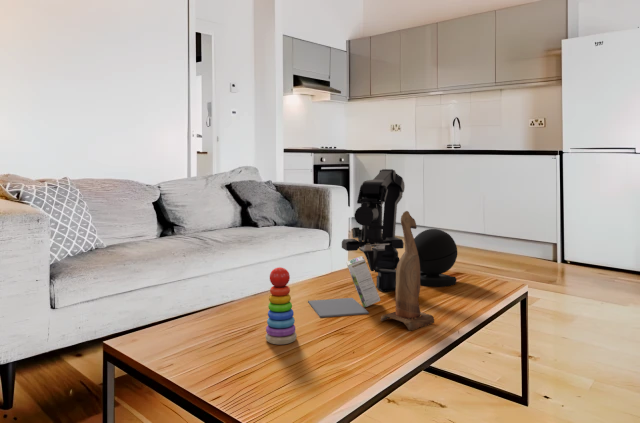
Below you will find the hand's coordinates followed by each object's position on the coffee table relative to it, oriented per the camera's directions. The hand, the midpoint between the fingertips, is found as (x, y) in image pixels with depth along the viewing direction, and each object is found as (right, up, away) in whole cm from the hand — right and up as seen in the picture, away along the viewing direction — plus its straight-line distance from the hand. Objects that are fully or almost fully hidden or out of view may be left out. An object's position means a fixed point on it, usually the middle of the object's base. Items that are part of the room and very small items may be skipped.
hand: (372, 270), depth 155 cm
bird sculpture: (+8, -13, -15) cm, 22 cm away
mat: (-11, -11, -2) cm, 16 cm away
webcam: (+26, -8, +32) cm, 42 cm away
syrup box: (0, -10, +1) cm, 10 cm away
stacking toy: (-26, -14, -29) cm, 42 cm away
